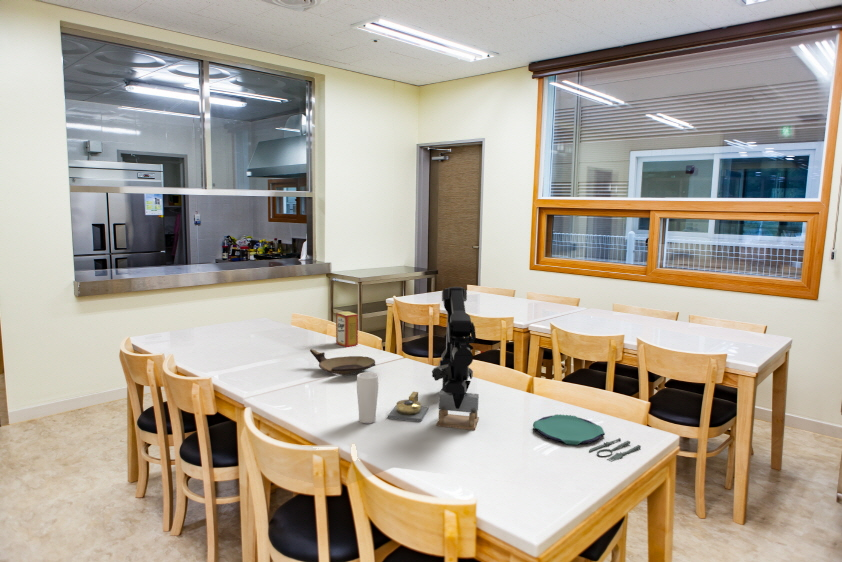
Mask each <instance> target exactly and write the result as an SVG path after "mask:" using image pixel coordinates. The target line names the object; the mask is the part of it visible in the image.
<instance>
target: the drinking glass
mask: <svg viewBox="0 0 842 562" xmlns="http://www.w3.org/2000/svg"><path fill="white" fill-rule="evenodd" d="M356 395H357V404H358V420H359V422H360V423H361V424H366V425H367V424H373V423H375V422H376V420H377V408H378V407H377V406H378V396H379V374H377V372H372V371H371V372H366V371H365V372H359V373H357V375H356Z"/></svg>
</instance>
